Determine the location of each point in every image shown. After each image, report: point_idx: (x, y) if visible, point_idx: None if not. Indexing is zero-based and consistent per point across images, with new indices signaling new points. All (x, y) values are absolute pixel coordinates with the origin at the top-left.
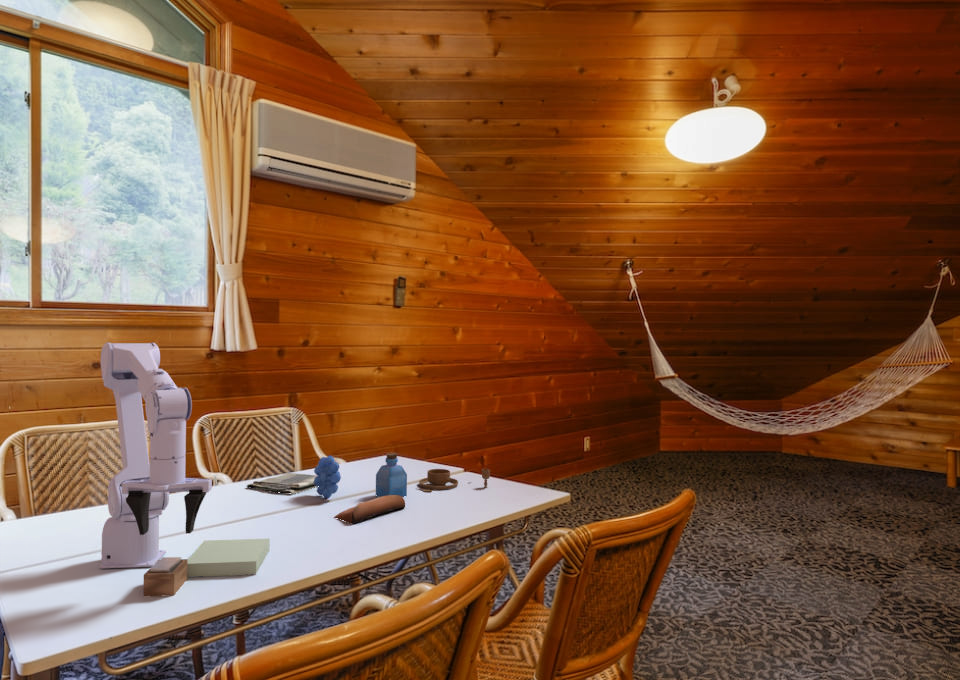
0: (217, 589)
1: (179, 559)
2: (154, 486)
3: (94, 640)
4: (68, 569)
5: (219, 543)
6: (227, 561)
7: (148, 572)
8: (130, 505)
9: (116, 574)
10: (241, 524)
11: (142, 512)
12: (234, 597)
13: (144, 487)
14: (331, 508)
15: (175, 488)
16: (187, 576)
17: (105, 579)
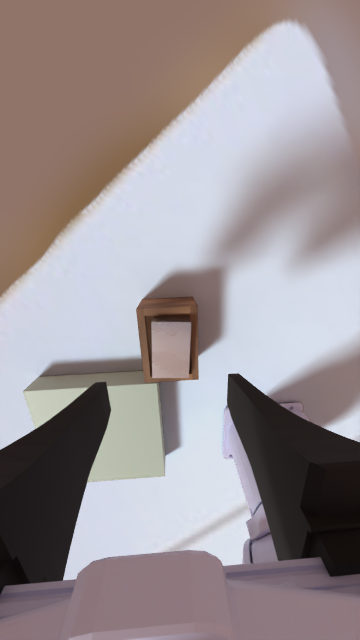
0: (76, 319)
1: (152, 369)
2: (220, 633)
3: (203, 101)
4: (345, 402)
5: (133, 465)
6: (79, 391)
7: (192, 318)
8: (335, 438)
9: (268, 383)
10: (153, 545)
11: (260, 427)
12: (28, 283)
13: (344, 610)
14: None
15: (29, 611)
16: None
17: (278, 366)
